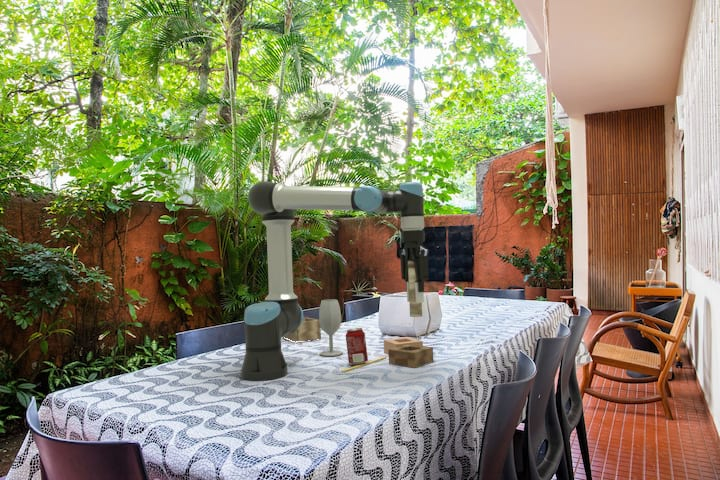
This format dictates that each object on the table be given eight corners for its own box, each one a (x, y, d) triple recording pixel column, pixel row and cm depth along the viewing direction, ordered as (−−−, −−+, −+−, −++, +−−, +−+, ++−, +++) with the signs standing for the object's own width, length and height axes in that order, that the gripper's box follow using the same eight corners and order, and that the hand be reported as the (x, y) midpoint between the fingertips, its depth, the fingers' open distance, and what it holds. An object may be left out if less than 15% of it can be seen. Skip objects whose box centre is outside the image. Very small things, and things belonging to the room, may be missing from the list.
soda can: (366, 364, 172) (362, 329, 173) (346, 366, 173) (343, 331, 174) (369, 361, 178) (365, 327, 179) (351, 362, 180) (347, 328, 181)
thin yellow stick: (344, 372, 165) (344, 371, 165) (341, 372, 166) (341, 370, 166) (386, 358, 184) (386, 357, 184) (383, 358, 185) (383, 356, 185)
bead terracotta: (396, 358, 184) (396, 344, 184) (384, 352, 194) (383, 339, 194) (423, 354, 188) (422, 341, 188) (409, 349, 198) (409, 336, 198)
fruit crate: (295, 343, 221) (294, 323, 221) (283, 339, 233) (282, 320, 233) (321, 339, 228) (320, 320, 228) (307, 336, 239) (307, 317, 239)
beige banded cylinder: (414, 317, 161) (412, 261, 161) (407, 316, 164) (405, 261, 164) (425, 316, 163) (423, 260, 163) (417, 315, 166) (415, 260, 166)
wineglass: (332, 357, 188) (330, 301, 189) (315, 355, 194) (313, 301, 194) (347, 353, 195) (345, 299, 196) (330, 351, 201) (328, 298, 201)
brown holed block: (414, 367, 168) (413, 352, 168) (389, 363, 175) (388, 349, 175) (433, 361, 176) (432, 347, 176) (408, 358, 183) (407, 344, 183)
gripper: (438, 228, 158) (441, 302, 158) (406, 231, 173) (409, 299, 173) (419, 228, 155) (422, 304, 154) (388, 231, 169) (391, 301, 169)
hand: (415, 301), depth 163 cm, fingers closed on beige banded cylinder, 4 cm apart
